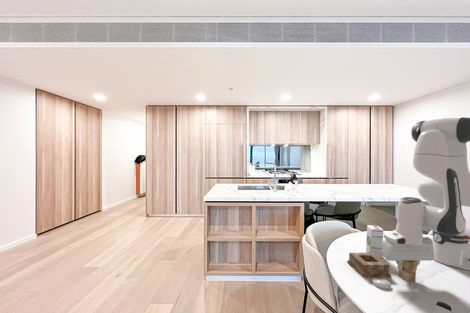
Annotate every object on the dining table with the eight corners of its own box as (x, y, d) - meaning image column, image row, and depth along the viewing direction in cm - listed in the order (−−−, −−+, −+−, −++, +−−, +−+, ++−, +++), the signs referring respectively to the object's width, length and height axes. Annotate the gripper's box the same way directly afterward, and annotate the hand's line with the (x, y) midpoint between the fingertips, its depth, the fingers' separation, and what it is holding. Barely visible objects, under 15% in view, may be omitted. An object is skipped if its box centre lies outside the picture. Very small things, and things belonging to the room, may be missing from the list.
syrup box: (383, 258, 109) (384, 229, 108) (369, 257, 110) (371, 228, 110) (378, 253, 114) (379, 225, 114) (365, 252, 116) (366, 224, 115)
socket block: (371, 262, 105) (372, 252, 105) (391, 277, 93) (391, 265, 93) (347, 262, 104) (347, 252, 104) (363, 277, 92) (363, 265, 92)
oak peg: (407, 275, 94) (408, 257, 94) (415, 281, 90) (416, 262, 90) (398, 275, 94) (399, 257, 94) (406, 281, 90) (407, 262, 90)
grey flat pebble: (382, 280, 91) (382, 277, 91) (394, 290, 85) (394, 286, 85) (368, 280, 90) (368, 277, 90) (379, 290, 84) (379, 286, 84)
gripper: (425, 234, 95) (424, 265, 96) (379, 234, 94) (378, 265, 95) (439, 240, 89) (438, 274, 89) (391, 240, 88) (389, 274, 88)
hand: (407, 269), depth 92 cm, fingers closed on oak peg, 4 cm apart
